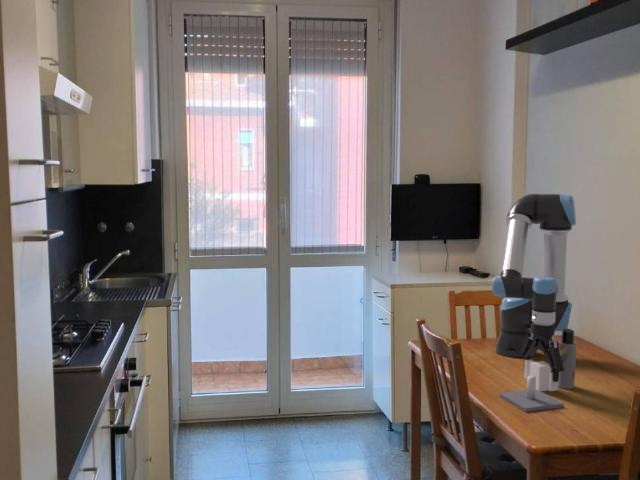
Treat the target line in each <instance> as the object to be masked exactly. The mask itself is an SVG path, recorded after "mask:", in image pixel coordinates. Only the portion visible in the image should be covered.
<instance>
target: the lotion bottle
mask: <svg viewBox="0 0 640 480" xmlns="http://www.w3.org/2000/svg"><path fill="white" fill-rule="evenodd" d="M574 338H575V330H573V329H571V328H567V329H564V330H562V331H561V341H560V342H559V341H558V343H559V351H560V355H561V359H562V363H563V367H564V371H562V372H559V381H558V388H560V389H565V390H572V389H574V388H575V384H576V383H575V382H576V381H575V380H576V362H577V361H576V360H577V344H576V343H574V342H575V339H574ZM559 368H560V367H559Z"/></svg>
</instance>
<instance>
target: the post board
mask: <svg viewBox="0 0 640 480" xmlns="http://www.w3.org/2000/svg"><path fill="white" fill-rule="evenodd" d="M526 382H527V383H526V389H523V390H517V391H508V392H499V398H501V399H503V400H504V401H506V402H507V403H509V404H511V405H512V406H515V408H518V409H519V410H521V411H523V412H524V413H527V412H536V411H544V410H551V409H552V410H553V409H559V408H564V402H561V401H560V400H558V399H556V398H554V397H552V396H550V395H548V394H546V393H544V391H539V390H537V389H536V377H535V376H528V377H527V380H526Z"/></svg>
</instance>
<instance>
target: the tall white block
mask: <svg viewBox="0 0 640 480" xmlns="http://www.w3.org/2000/svg"><path fill="white" fill-rule="evenodd" d="M550 371H551V367H550V365H549V362H546V361H544V360H541V361H540V360H539V361H533V362H530V376H535V377H536V389H537V390H539V391H541V392H547V391H549V383H550Z"/></svg>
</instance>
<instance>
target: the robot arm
mask: <svg viewBox="0 0 640 480" xmlns="http://www.w3.org/2000/svg"><path fill="white" fill-rule="evenodd" d="M574 200H575V199H574V197H573V196H572V195H570V194H563V193H562V194H561V193H557V194H555V193H553V194H551V193H547V194H546V193H544V194H543V193H530V194H526V195H524V196H522V197H520V198H518V200H517V201H515V202H514V203H513V204H512V206H511V207H510V209H509V211H508V212H507V215H506V220H505V224H506V226H507V229H506V230H507V231H506V237H505V243H504V250H503V254H502V255H503V256H502V262H501V268H500V273H499V275H495V276H493V278H492V285H491V291H492V295H493V296H495V297H499V298H502V300H501V307H500V332H499V335H498V338H497V340H496V341H497V342H496V343H495V347H494V349H495V353H497V354H498V355H501V356H506V357H509V358H523V360H524V364H523V365H524V379H527V377H528V376H530V362H534V358H533V357H534V356H535V354H536V353H537V352H538V351H541V352H542V353H543V354H544V355H545V358H546V360H547V363H548V364H549V365H550V367H551V371H550V383H549V390H548V391H549V392H554V391H558V388H559V387H558V381H559V372H562V371H564V367H563V363H562V359H561V355H560V351H559V341H557V340H556V341H553V339H552V338H553V336H554V335H555V334H556V333H555V332H562V330H564V329H569V323H570V318H571V314H572V313H571V311H572V307H573V303H572V302H570V301H569V297H568V296H567V295H566V292H565V291H566V270H567V267H566V265H567V245H568V244H567V242H568V241H567V240H568V233H570V232H571V231H572V229H573V226H576V223H577V221H576V219H577V218H576V207H575V201H574ZM533 224H534V225H539V229H540V231H541V232H542V233H543V240H542V241H543V243H542V269H541V271H542V273H541V276H536V277H523V271H524V264H525V257H526V256H525V255H526V249H527V248H526V247H527V240H528V234H529V229H530V228H532V226H533ZM559 367H560V368H559Z"/></svg>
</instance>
